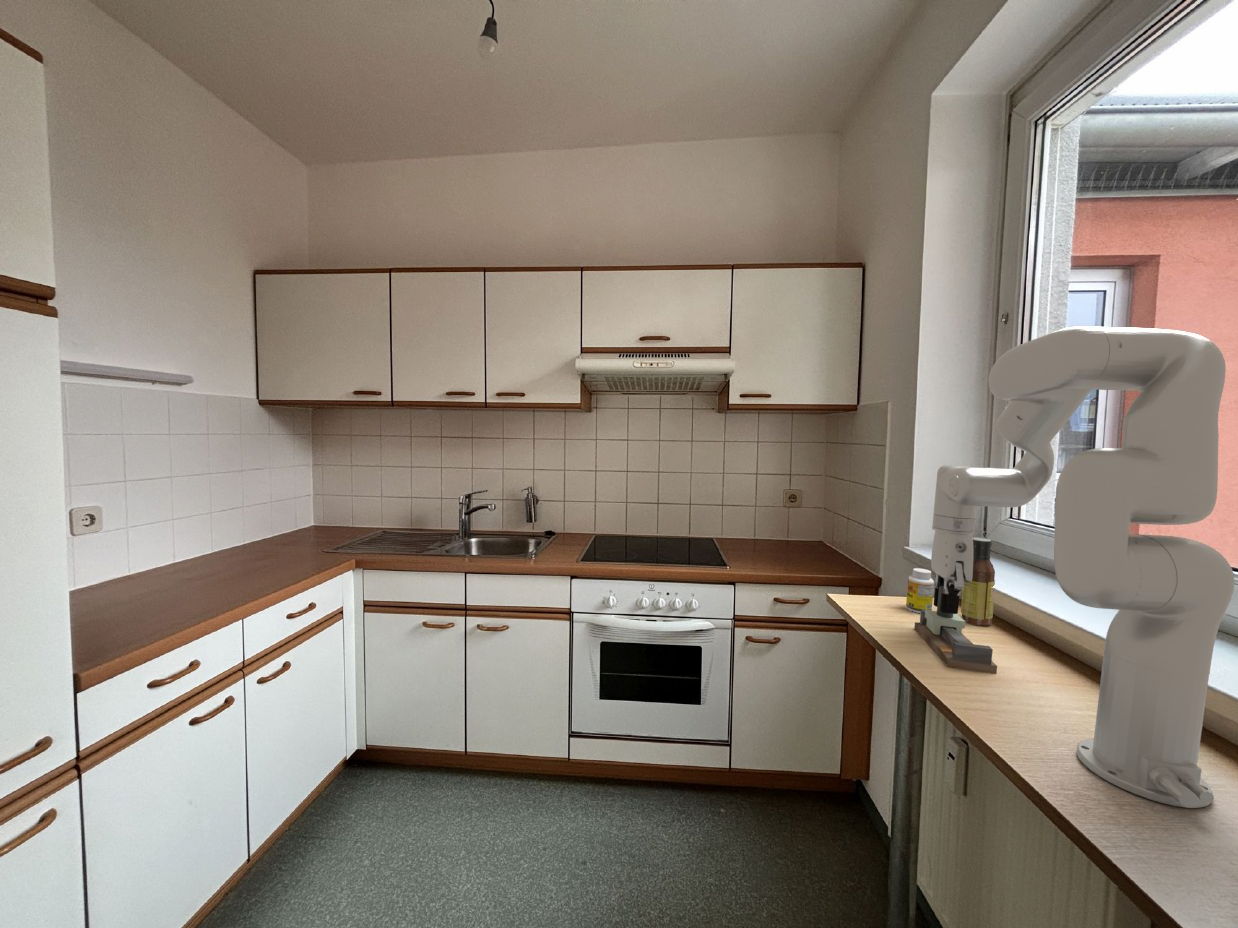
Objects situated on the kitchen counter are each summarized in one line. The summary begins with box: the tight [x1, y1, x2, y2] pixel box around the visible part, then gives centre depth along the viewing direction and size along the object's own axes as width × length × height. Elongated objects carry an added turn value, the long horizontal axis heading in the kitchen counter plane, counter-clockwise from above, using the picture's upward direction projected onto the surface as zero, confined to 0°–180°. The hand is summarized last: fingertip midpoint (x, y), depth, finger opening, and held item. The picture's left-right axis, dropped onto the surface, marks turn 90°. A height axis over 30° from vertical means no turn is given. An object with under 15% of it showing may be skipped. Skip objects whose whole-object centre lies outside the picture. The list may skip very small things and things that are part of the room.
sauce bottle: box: [960, 537, 996, 627], centre depth 125 cm, size 6×6×20 cm
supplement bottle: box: [905, 567, 935, 614], centre depth 131 cm, size 6×6×10 cm
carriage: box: [925, 586, 966, 635], centre depth 113 cm, size 5×6×10 cm
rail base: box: [914, 610, 998, 674], centre depth 108 cm, size 20×8×4 cm, turn 167°
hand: (945, 608), depth 113 cm, fingers closed on carriage, 3 cm apart
